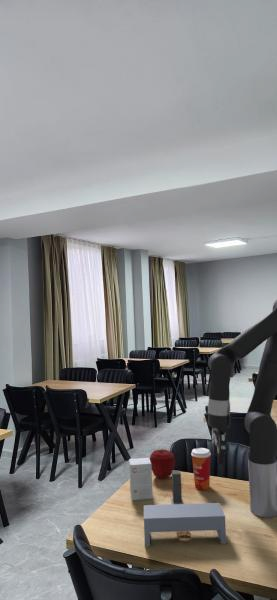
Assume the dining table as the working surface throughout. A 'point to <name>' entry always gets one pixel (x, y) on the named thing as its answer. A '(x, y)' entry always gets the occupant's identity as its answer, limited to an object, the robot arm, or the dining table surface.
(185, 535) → the token
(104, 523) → the dining table surface
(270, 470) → the robot arm
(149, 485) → the small box
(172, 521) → the shelf
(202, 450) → the paper cup
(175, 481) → the grey l-shaped bracket
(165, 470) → the apple
